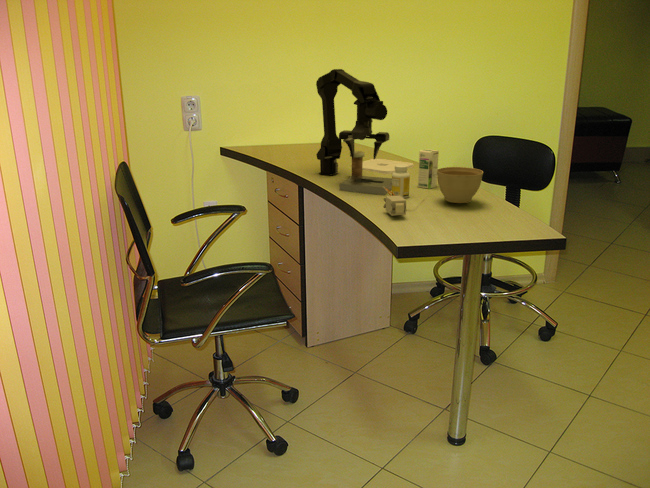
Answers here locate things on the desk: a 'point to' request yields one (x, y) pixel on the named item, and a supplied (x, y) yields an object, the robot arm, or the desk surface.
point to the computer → (383, 165)
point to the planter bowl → (459, 183)
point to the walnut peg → (357, 163)
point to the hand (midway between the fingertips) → (363, 158)
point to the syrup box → (428, 168)
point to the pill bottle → (400, 181)
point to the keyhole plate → (366, 185)
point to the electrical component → (395, 204)
